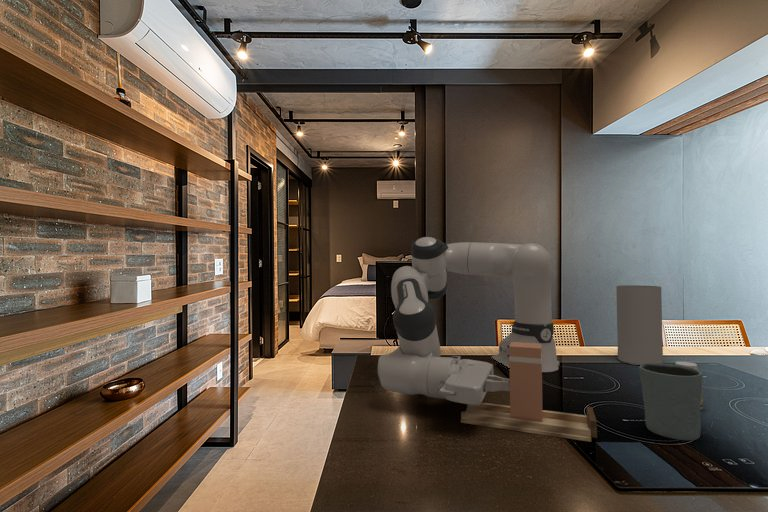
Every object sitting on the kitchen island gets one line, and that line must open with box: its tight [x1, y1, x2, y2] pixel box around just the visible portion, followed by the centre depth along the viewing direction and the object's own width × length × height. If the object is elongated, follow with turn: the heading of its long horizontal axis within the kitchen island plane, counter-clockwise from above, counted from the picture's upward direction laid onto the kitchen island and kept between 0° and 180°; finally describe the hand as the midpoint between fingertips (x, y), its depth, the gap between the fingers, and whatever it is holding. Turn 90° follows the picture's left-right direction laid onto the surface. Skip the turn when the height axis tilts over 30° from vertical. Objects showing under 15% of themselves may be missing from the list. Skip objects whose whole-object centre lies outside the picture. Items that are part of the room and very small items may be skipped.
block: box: [509, 342, 543, 422], centre depth 81 cm, size 6×5×15 cm
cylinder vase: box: [615, 284, 664, 366], centre depth 130 cm, size 12×12×25 cm
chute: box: [460, 401, 598, 443], centre depth 81 cm, size 25×9×4 cm, turn 67°
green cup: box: [638, 363, 703, 441], centre depth 77 cm, size 10×10×12 cm
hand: (510, 385), depth 82 cm, fingers closed, pressing on block
